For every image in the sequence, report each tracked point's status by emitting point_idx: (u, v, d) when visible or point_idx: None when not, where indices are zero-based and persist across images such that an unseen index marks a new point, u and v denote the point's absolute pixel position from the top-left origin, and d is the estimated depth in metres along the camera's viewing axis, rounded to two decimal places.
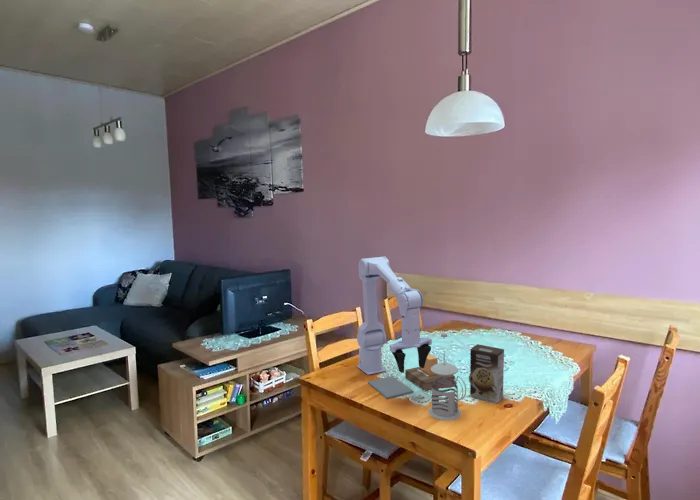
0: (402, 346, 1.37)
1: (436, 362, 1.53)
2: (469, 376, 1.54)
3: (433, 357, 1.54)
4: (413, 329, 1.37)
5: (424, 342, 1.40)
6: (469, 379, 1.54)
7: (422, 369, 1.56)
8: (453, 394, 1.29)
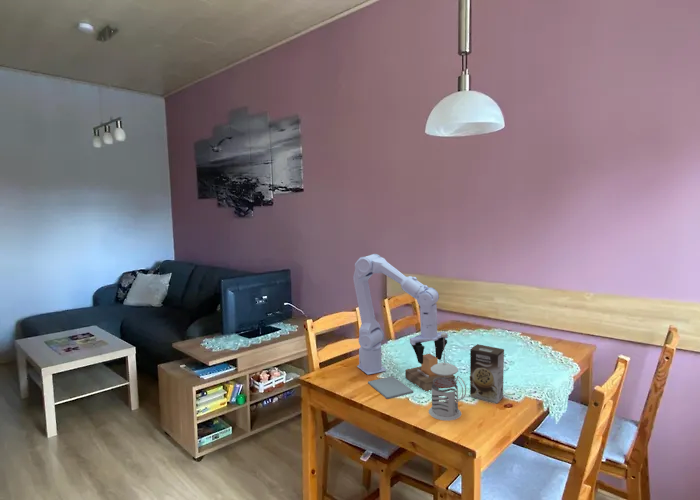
0: (421, 339, 1.51)
1: (436, 362, 1.53)
2: None
3: (433, 357, 1.54)
4: (435, 323, 1.51)
5: None
6: None
7: (422, 369, 1.56)
8: (453, 394, 1.29)
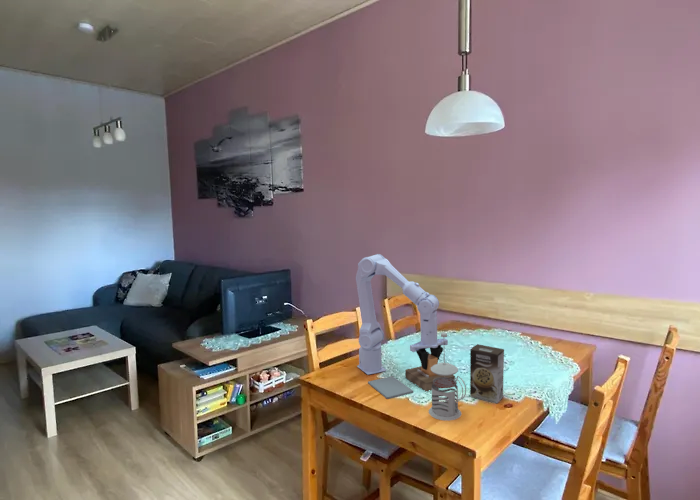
0: (421, 346, 1.51)
1: (436, 362, 1.53)
2: None
3: (433, 357, 1.54)
4: (435, 330, 1.51)
5: (441, 343, 1.54)
6: None
7: (422, 369, 1.56)
8: (453, 394, 1.29)
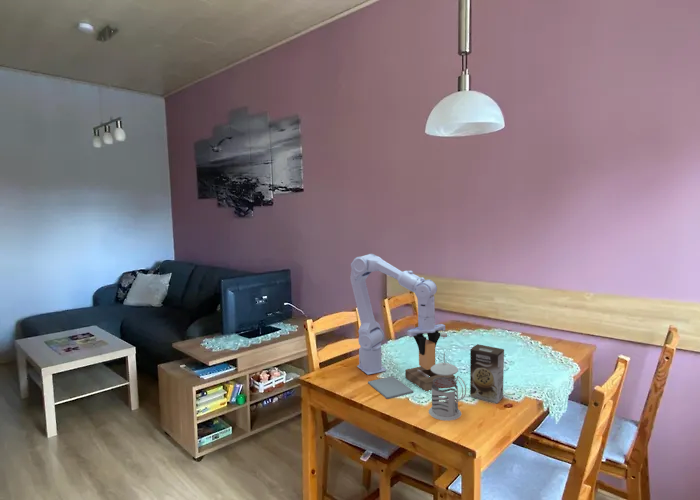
0: (419, 331, 1.50)
1: (434, 347, 1.52)
2: None
3: (431, 342, 1.53)
4: (433, 315, 1.50)
5: (438, 328, 1.53)
6: None
7: (419, 355, 1.55)
8: (453, 394, 1.29)
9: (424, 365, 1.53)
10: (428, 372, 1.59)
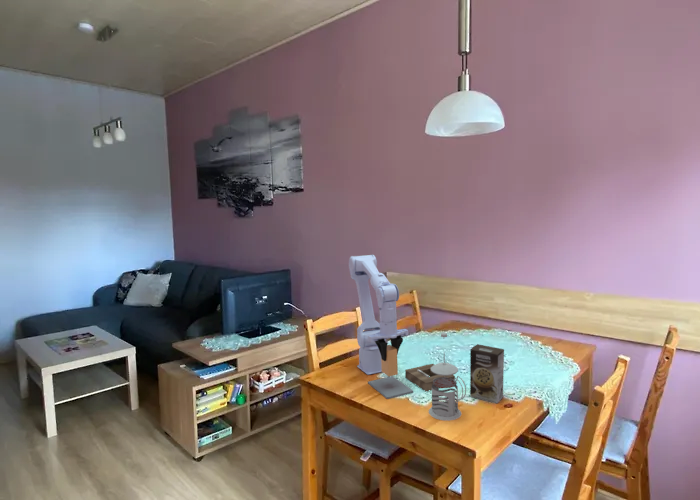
0: (380, 337, 1.46)
1: (395, 353, 1.48)
2: None
3: (392, 348, 1.49)
4: (389, 321, 1.46)
5: (401, 333, 1.49)
6: None
7: (382, 361, 1.51)
8: (453, 394, 1.29)
9: (386, 372, 1.49)
10: (428, 372, 1.59)
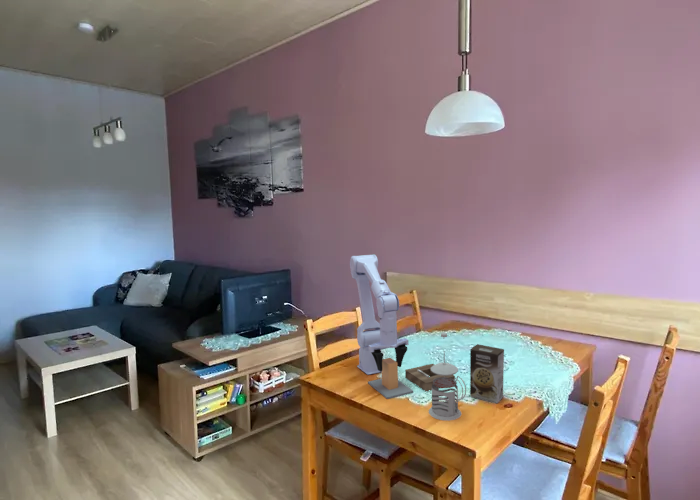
0: (380, 346, 1.46)
1: (396, 367, 1.49)
2: None
3: (393, 361, 1.49)
4: (389, 331, 1.46)
5: (401, 343, 1.49)
6: None
7: (382, 374, 1.52)
8: (453, 394, 1.29)
9: (386, 385, 1.50)
10: (428, 372, 1.59)
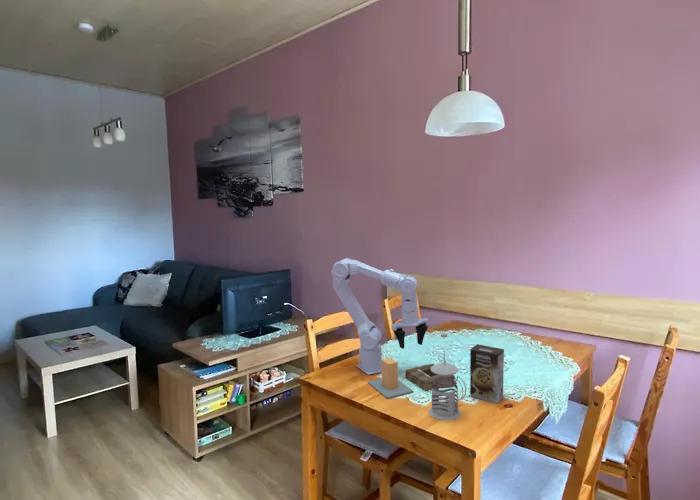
0: (402, 325, 1.58)
1: (396, 367, 1.49)
2: None
3: (393, 361, 1.49)
4: (416, 309, 1.59)
5: (421, 322, 1.61)
6: None
7: (382, 374, 1.52)
8: (453, 394, 1.29)
9: (386, 385, 1.50)
10: (428, 372, 1.59)
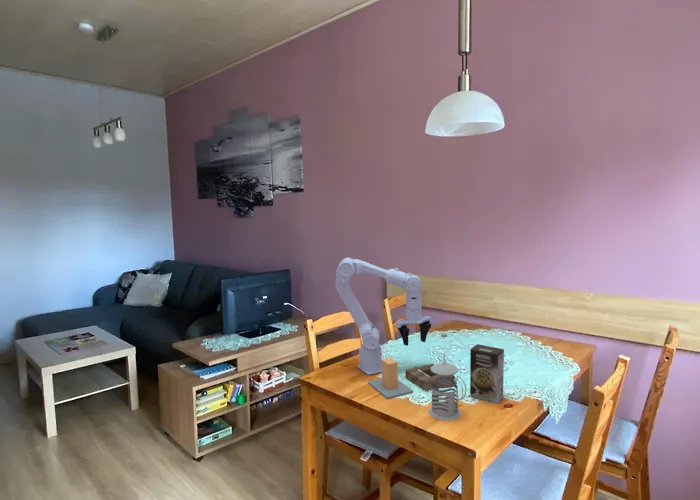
0: (406, 322, 1.61)
1: (396, 367, 1.49)
2: None
3: (393, 361, 1.49)
4: (421, 307, 1.62)
5: (425, 320, 1.64)
6: None
7: (382, 374, 1.52)
8: (453, 394, 1.29)
9: (386, 385, 1.50)
10: (428, 372, 1.59)
